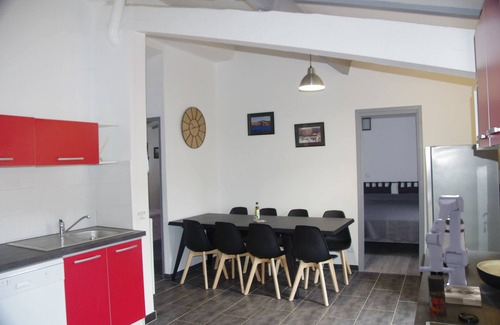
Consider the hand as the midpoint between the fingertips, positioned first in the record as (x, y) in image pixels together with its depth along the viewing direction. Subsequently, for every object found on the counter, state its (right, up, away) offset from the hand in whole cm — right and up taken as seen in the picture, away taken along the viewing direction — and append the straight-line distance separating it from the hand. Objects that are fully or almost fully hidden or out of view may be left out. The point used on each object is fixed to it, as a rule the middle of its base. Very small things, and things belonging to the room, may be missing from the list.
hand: (437, 288), depth 182 cm
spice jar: (-10, -4, -21) cm, 23 cm away
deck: (+8, -3, -4) cm, 9 cm away
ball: (+4, +1, -2) cm, 4 cm away
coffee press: (+32, -2, +48) cm, 57 cm away
